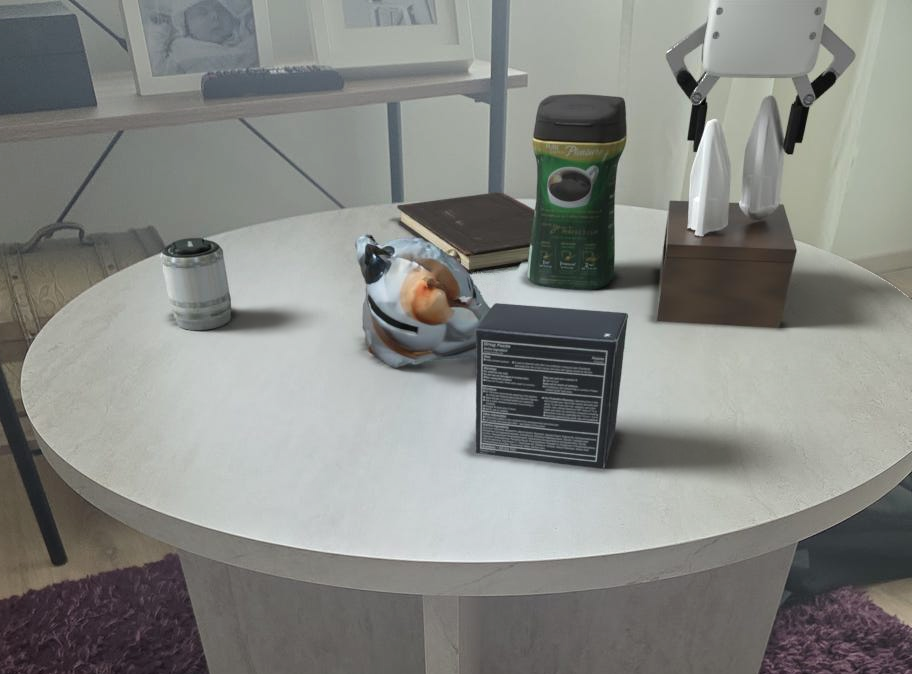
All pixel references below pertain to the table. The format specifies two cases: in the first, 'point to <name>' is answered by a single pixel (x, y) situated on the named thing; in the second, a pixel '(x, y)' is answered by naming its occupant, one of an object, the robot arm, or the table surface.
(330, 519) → the table surface
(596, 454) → the small box
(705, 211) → the shaker set
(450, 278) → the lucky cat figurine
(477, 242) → the hardcover book
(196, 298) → the camera lens
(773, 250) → the brown wooden box
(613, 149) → the coffee jar
